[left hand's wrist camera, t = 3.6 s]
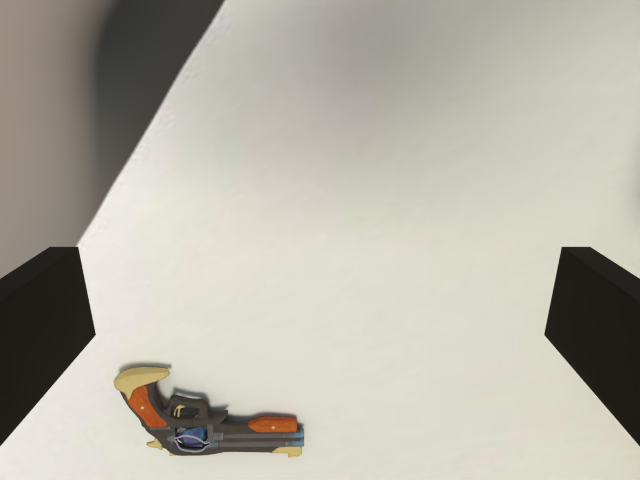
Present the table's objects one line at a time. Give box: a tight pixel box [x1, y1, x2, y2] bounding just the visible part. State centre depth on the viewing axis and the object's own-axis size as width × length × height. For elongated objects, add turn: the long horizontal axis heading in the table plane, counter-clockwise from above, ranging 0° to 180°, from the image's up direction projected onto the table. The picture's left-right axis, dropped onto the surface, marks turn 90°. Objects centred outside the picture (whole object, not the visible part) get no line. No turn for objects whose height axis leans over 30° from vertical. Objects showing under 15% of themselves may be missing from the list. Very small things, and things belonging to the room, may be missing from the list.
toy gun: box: [114, 367, 304, 458], centre depth 46 cm, size 3×19×10 cm
